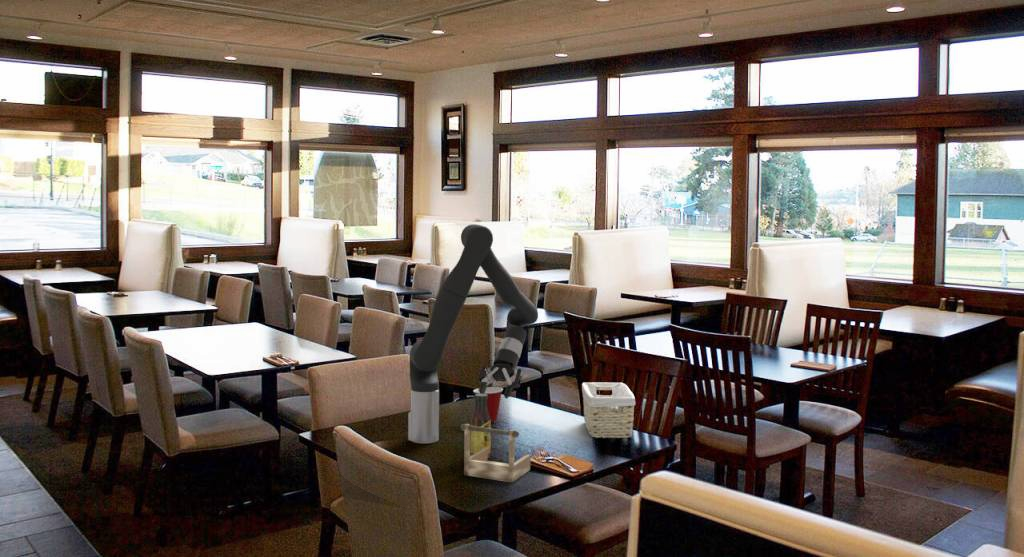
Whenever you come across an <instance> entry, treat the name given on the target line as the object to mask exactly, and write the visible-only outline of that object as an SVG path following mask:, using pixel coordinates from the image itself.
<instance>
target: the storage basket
mask: <svg viewBox="0 0 1024 557" xmlns="http://www.w3.org/2000/svg"><path fill="white" fill-rule="evenodd" d="M581 391H582V398H583V416H584V418H583V419H584V424H585V427H586V429H587V431H588V434H590V436H591V438H594V437H595V438H596V439H599V438H601V437H602V438H601V439H607V438H608V439H620V438H622V439H628V438H632V437H633V431H634V430H633V427H634V420H635V418H634V415H635V414H634V413H635V406H636V398H635V395H634V393H633V392H632V391H631V389H630V388H629V386H628V385H627V384H626V383H623V382H596V381H595V382H593V381H592V382H582V384H581ZM597 391H611V394H610V395H607V394H606V395H603V394H598V393H597ZM595 438H594V439H595Z"/></svg>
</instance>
